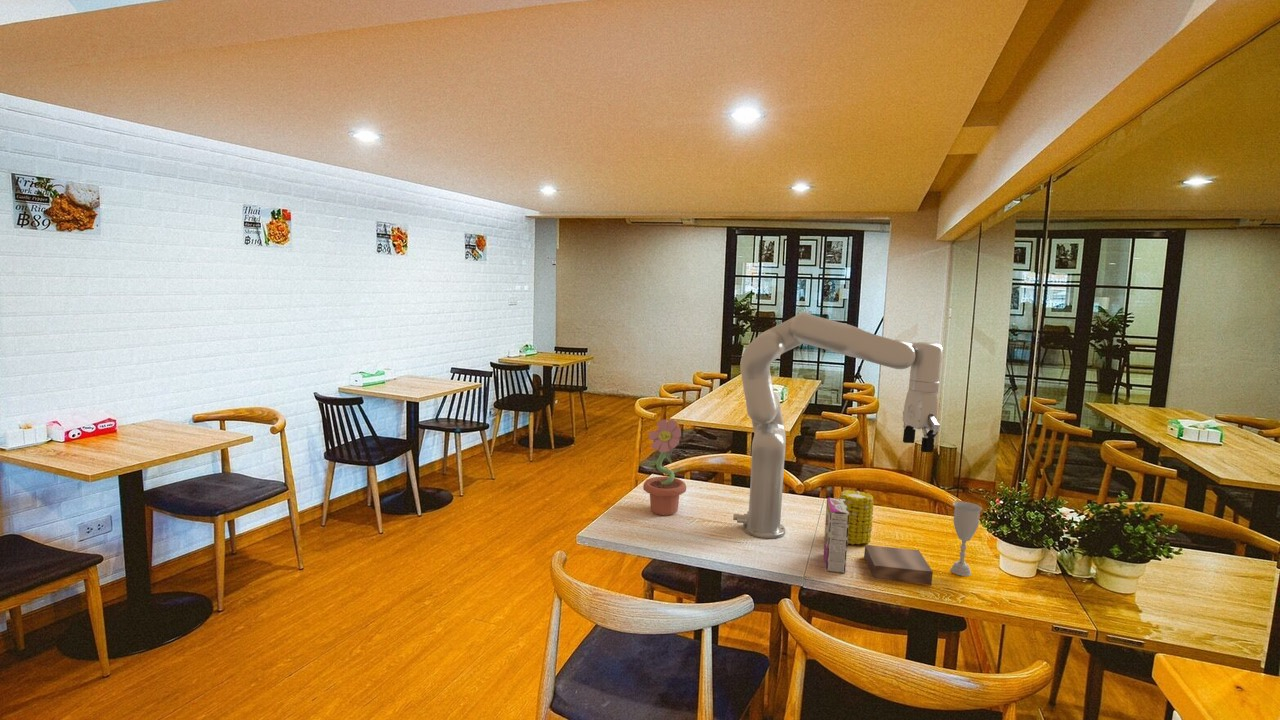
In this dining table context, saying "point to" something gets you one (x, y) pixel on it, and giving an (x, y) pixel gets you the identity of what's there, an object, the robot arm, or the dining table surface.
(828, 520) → the candy bar box
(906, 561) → the walnut block
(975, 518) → the chalice
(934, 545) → the dining table surface
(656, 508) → the decorative flower
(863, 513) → the food
